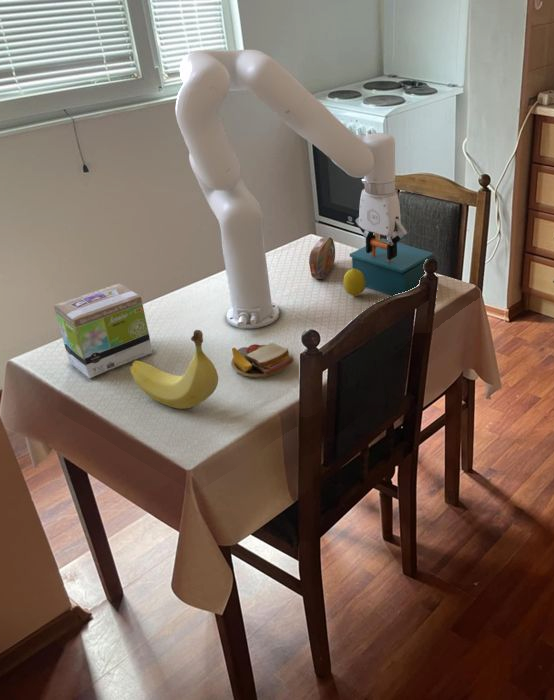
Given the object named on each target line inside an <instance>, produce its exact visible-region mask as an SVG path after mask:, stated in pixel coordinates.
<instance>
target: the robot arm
mask: <svg viewBox="0 0 554 700" xmlns="http://www.w3.org/2000/svg"><path fill="white" fill-rule="evenodd" d="M179 67H180V68H179V75H180V79H181V80H182V82H183V84H182V85H181V88H180V90H179V91H178V94H177V98H176V102H175V117H176V123H177V125H178V128H179V130H180V133H181V136H182V137H183V141H184V142H185V145H186V147H187V150H188V152H189V154H188V155H189V157H188V160H189V164H190V167H191V169H192V172H193V174H194V177H195V178H196V180H197V182H198V185H199V187H200V189H201V191H202V194H203V195H204V197H205V199H206V201H207V203H208V206H209V207H210V209H211V211H212V213H213V214H214V215H215V217H216V219H217V221H218V224H219V227H220V236H221V237H220V238H221V247H222V254H223V261H224V266H225V267H224V268H225V274H226V280H227V287H228V292H229V298H230V304H231V307H230V308H229V309H228V311H227V312H226V320H227V322H228V324H230V325H231V326H233V327H235V328H239V329H241V330H242V329H258V328H259V329H260V328H262V327H265V326H269V325H271V324H273V323H274V322H275V321H276V320H277V319H278V318H279V316H280V308H279V307H278V306H277V304H275V303H273V302H272V294H271V288H270V286H271V285H270V279H269V271H268V263H267V254H266V247H265V237H264V236H265V235H264V234H265V233H264V228H265V227H264V226H265V225H264V224H265V223H264V214H263V211H262V208H261V206H260V203H259V202H258V200H257V199H256V197H254V195H253V194H252V193H251V192H250V191H249V190H248V188H247V187H246V185H245V183H244V180H243V178H242V176H241V173H242V171H241V164H240V160H239V158H238V157H237V155H236V153H235V152H234V149H233V146H232V144H231V143H230V140H229V138H228V136H227V134H226V130H225V128H224V125H223V123H222V120H221V116H220V108H221V106H222V103H223V101H224V100H225V98H226V97H227V95H228V93H229V92H239V91H248V92H249V93H250V94H251V95H252V96H253V97H255V99H257V100H258V101H259V102H260V103H261V104H262V105H264V107H266V108H267V109H268V110H270V111H271V112H272V113H273V114H274V115H275V116H277V118H278V119H280V120H281V121H282V122H283V123H285V124H286V125H287V126H288V127H289V128H290V129H291V130H292V131H294V132H295V133H296V134H297V135H299V136H300V137H301V138H303V139H304V140H306V141H307V142H309V143H310V144H312V145H313V146H314V147H316V148H317V149H318V150H319V151H321V152H322V153H323V154H324V155H325V156H327V158H329V159H330V160H331V162H332V163H333V164H335V166H337V167H338V168H340V169H341V170H342V171H343V172H345V173H346V175H348V176H350V177H352V178H355V179H357V178H359V179H360V178H362V179H361V183H362V184H363V185H364V188H363V189H362V190H361V194H360V199H359V210H358V211H359V214H358V217H357V218H356V219H355V223H356V225H357V226H358V227H359V230H360V231H361V232H362V234H363V235H362V237H363V238H364V239H365V246H366V253H370V252H372V245H370V240H371V239H372V238H373V239H377V238H376V235H375V234H378V235H380V236H381V235H382V236H385V237H386V240H388V242H389V245H387V259H388V260H391V259H393V258H394V257H396V256H397V243H400V241H401V240H402V239H403V238H404V237H405V236H407V235H408V231H407V230H406V229H405V227H404V225H403V224H402V221H401V217H402V216H401V208H400V206H401V205H400V200H399V195H398V193H397V192H396V141H395V138H394V136H392V135H391V134H389V133H386V132H371V133H369V134H363V135H362V134H354V132H352V131H351V130H350V129H349V128H348V127H347V125H345V124H343V123H342V122H341V121H340V119H338V118H337V117H336V116H335V115H334V114H333V113H332V112H331V111H330V110H329V109H328V108H327V107H326V106H325V105H324V104H323V102H321V101H320V100H319V99H318V98H317V97H315V96H314V94H312V93H311V92H310V91H309V90H308V89H307V88H306V87H305V86H304V85H303V84H301V83H300V82H299V81H298V80H297V79H296V78H295V77H294V76H293V75H292V74H291V73H290V72H289V71H288V70H286V69H285V68H284V67H283V65H281V64H280V63H279V62H278V61H277V60H275V58H273V57H271V56H269V55H268V54H267V53H264V52H263V51H261V50H257V49H209V50H208V49H202V50H201V49H200V50H195V51H192V52H190V53H187V54H186V56H184V57H183V59H182V60H181V63H180V66H179ZM375 250H376V247H375Z"/></svg>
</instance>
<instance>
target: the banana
mask: <svg viewBox="0 0 554 700" xmlns="http://www.w3.org/2000/svg"><path fill="white" fill-rule="evenodd" d="M192 334H193V335H191V338H190V340H191V341H192V342H193V343H194V345H195V353H194V356H193V358H192V359H191V361H190V362H189V364H188V366H187V367H186V370H185V372H184V374H183V375H175V374H171V373H168V372H166V371H163V370H161V369H159V368H157V367H155V366H153V365H151V364H149V363H146V362H144V361H141V360H138V359H135V360H133V361H131V362H130V364H129V370H130V374H131V376H132V379H133V381H134V382H135V384H136V385H137V386H138V387H139V389H140V390H142V391H143V392H144V393H145V395H148V397H150V398H151V399H153V400H154V401H155V402H158V403H160V404H162V405H165V406H167V407H171V408H174V409H190V408H193V407H195V406H197V405H199V404H201V403H203V402H204V401H206V400H207V399H208V398H209V397H210V396H212V394H213V393H214V392H215V390H216V389H217V388H218V387H217V386H218V384H219V375H218V371H217V369H216V367H215V365H214V363H213V362H212V360H211V359H210V358H209V357H208V356H207V355H206V354H205V352H204V351H203V347H202V344H203V343H204V337H203V336H204V334H203V331H202V330H200V329H195V330H194V331H193V333H192Z"/></svg>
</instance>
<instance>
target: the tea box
mask: <svg viewBox="0 0 554 700" xmlns="http://www.w3.org/2000/svg"><path fill="white" fill-rule="evenodd" d="M53 307H54V312H55V316H56V319H57V323H58V326H59V330H60V334H61V337H62V341H63V345H64V348H65V352H66V355H67V359H68V362H69V363H70V364H71V365H72V366H73V367H75V368H76V369H77V370H79V371H80V372H81V373H82V374H83V375H84V376H86V377H87V378H88V379H92V378H94V377H96V376H98V375H101V374H104V373H105V372H108V371H110V370H113V369H115V368H118V367H120V366H123V365H125V364H127V363H131V362H133V361H135V360H138V359H140V358H143V357H146V356H148V355H151V354H152V353H153V349H152V342H151V338H150V333H149V328H148V323H147V318H146V313H145V309H144V304H143V299H142V296H140V294H137V293H136V292H134V291H132V289H129V288H128V287H126V286H125V285H124V284H122V283H120V282H118V283H115V284H112V285H109V286H107V287H103V288H101V289H97V290H94V291H91V292H89V293H85V294H82V295H80V296H77V297H73V298H70V299H68V300H64V301H61V302H59V303H56V304H53Z"/></svg>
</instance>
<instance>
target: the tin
mask: <svg viewBox="0 0 554 700" xmlns="http://www.w3.org/2000/svg"><path fill="white" fill-rule="evenodd" d="M335 260H336V247H335V241H334V239H333V238H332V237H321V238H320V239H319V240H318V241H317V243H315V245H314V247H312V249H311V251H310V253H309V257H308V264H309V269H310V270H309V271H310V275H311V277H312V279H318V280H324V279H325V278H326V277H327V275H328V274H329V273H330V271H331V269H332V268H333V267H334V265H335Z"/></svg>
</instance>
